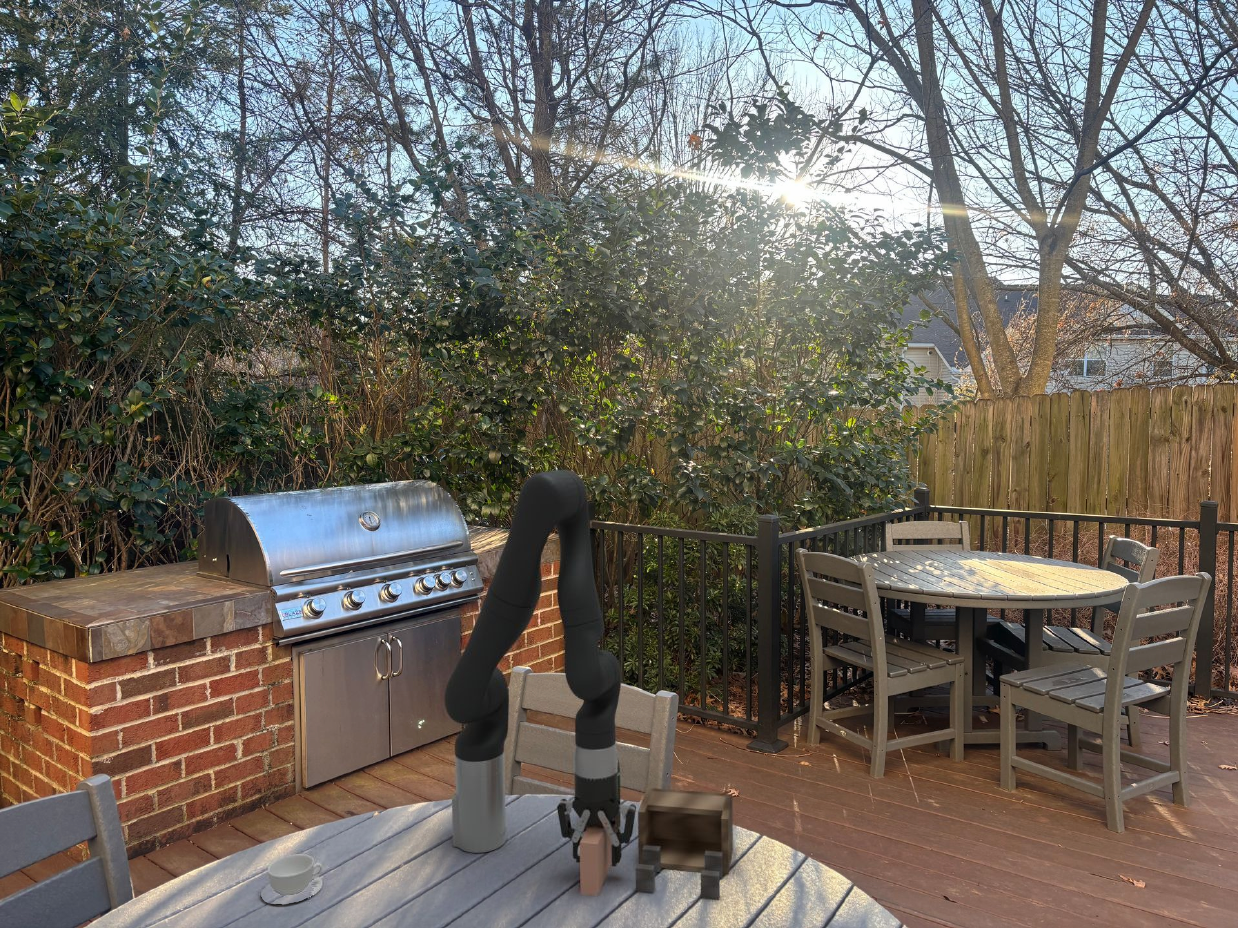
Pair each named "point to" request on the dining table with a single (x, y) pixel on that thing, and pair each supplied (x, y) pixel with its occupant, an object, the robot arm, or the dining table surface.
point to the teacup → (294, 874)
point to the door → (594, 859)
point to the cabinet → (685, 837)
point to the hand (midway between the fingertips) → (597, 861)
